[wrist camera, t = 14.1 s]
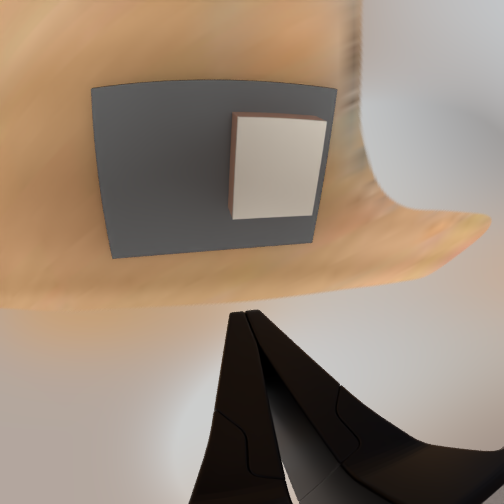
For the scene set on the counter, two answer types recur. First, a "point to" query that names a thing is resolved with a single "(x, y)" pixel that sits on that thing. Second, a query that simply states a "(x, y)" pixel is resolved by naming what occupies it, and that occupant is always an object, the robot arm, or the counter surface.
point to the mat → (189, 163)
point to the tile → (274, 164)
